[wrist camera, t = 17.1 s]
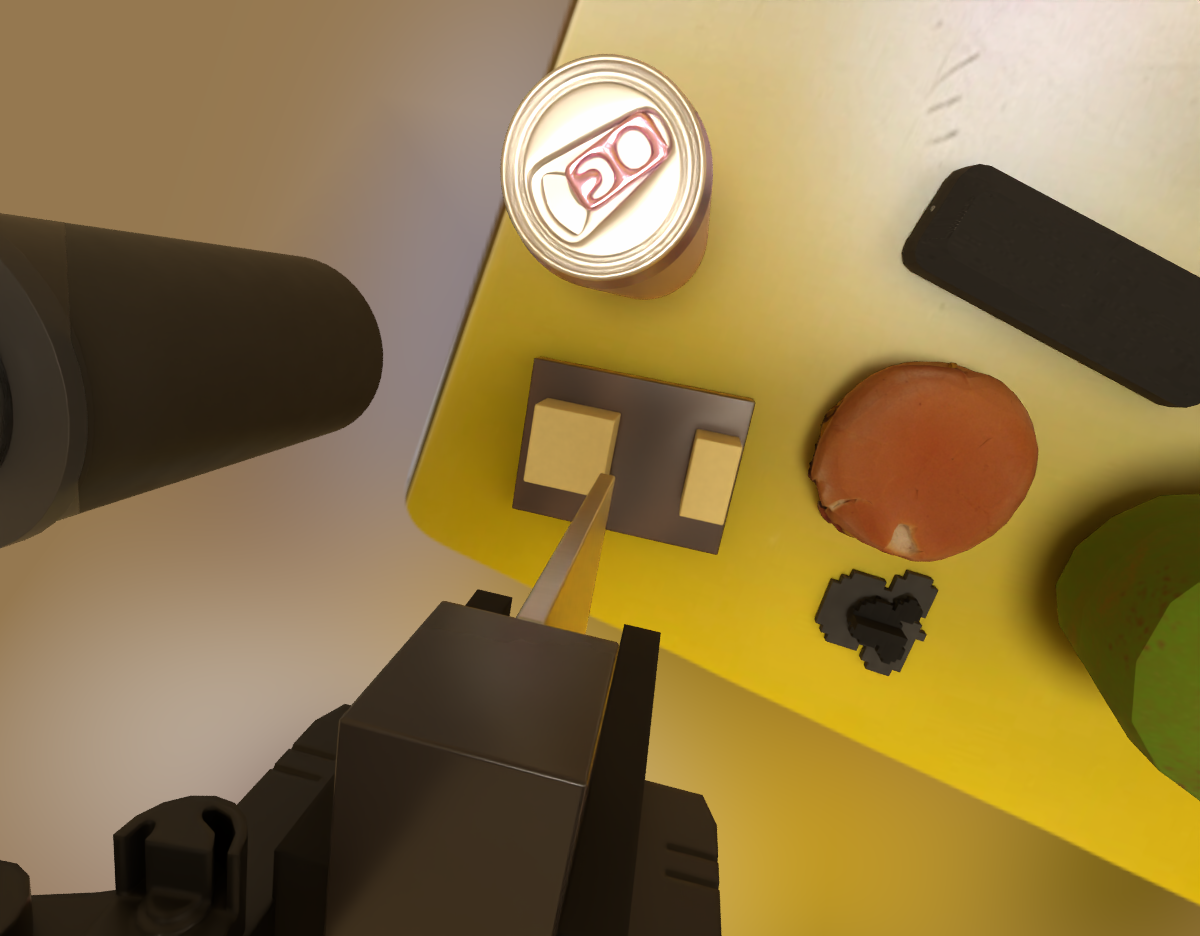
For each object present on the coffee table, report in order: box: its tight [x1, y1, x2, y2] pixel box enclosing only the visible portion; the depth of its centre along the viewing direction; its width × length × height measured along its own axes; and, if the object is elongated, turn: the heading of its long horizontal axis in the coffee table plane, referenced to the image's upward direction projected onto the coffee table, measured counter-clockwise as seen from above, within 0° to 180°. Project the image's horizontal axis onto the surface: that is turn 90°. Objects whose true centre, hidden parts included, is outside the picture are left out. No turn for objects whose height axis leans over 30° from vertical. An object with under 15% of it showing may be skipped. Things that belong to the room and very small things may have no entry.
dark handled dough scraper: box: [323, 473, 619, 936], centre depth 11 cm, size 7×2×10 cm, turn 170°
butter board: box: [512, 357, 755, 555], centre depth 33 cm, size 12×8×1 cm
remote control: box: [902, 164, 1200, 408], centre depth 28 cm, size 5×2×15 cm
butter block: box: [524, 398, 621, 495], centre depth 32 cm, size 4×4×2 cm
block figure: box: [815, 570, 938, 676], centre depth 33 cm, size 6×2×6 cm
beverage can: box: [500, 54, 713, 299], centre depth 24 cm, size 6×6×15 cm
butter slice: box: [679, 429, 742, 525], centre depth 31 cm, size 2×4×2 cm, turn 170°
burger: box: [808, 362, 1038, 562], centre depth 29 cm, size 10×9×5 cm
